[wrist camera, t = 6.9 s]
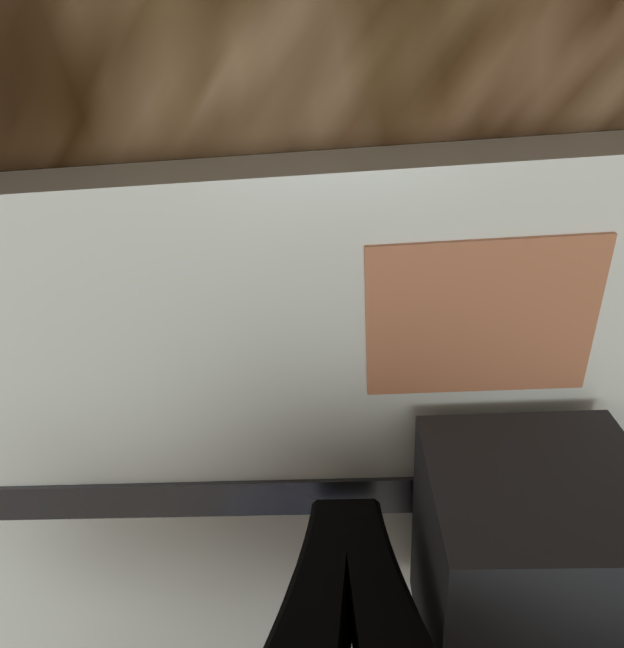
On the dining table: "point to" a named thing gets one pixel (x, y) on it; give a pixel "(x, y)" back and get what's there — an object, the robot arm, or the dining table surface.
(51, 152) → the dining table surface
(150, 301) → the dimmer panel
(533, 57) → the dining table surface
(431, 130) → the dining table surface
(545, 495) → the fader knob
